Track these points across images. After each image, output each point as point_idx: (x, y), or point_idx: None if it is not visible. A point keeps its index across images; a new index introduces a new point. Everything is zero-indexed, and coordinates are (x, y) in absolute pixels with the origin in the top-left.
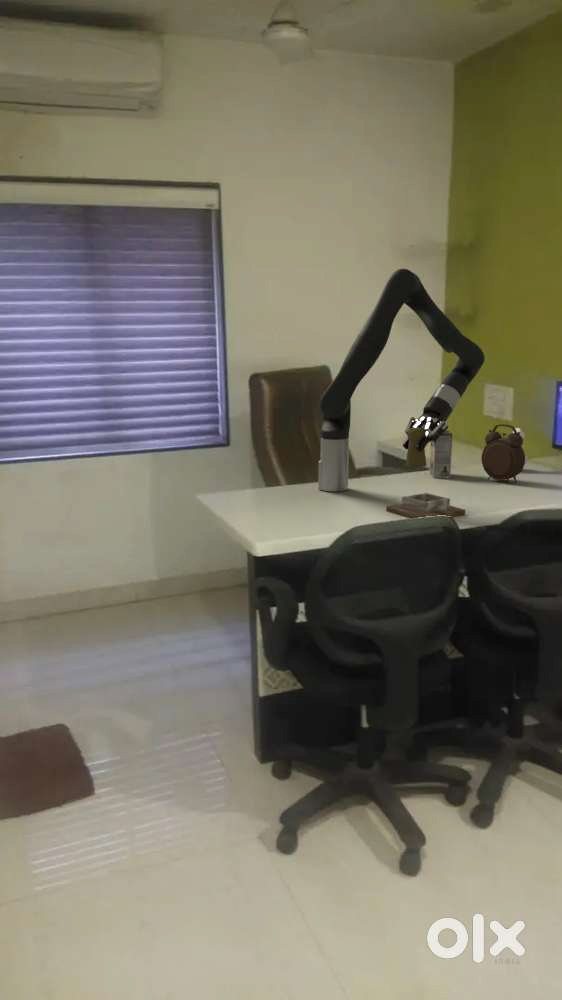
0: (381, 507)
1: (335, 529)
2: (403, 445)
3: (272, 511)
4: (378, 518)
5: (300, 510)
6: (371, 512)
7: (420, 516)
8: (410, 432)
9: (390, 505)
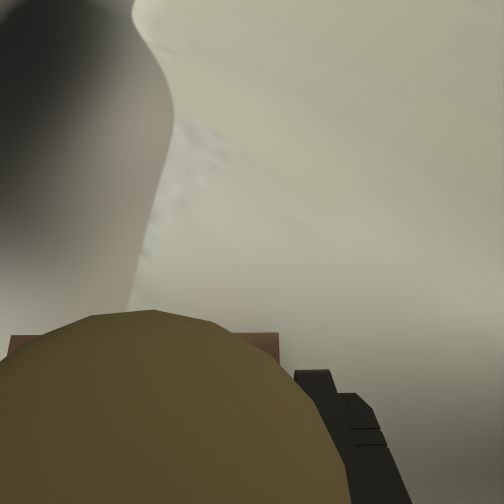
0: (349, 369)
1: (171, 49)
2: (309, 371)
3: (472, 23)
4: (196, 232)
5: (448, 89)
6: (292, 270)
7: (40, 335)
8: (132, 314)
9: (277, 357)
